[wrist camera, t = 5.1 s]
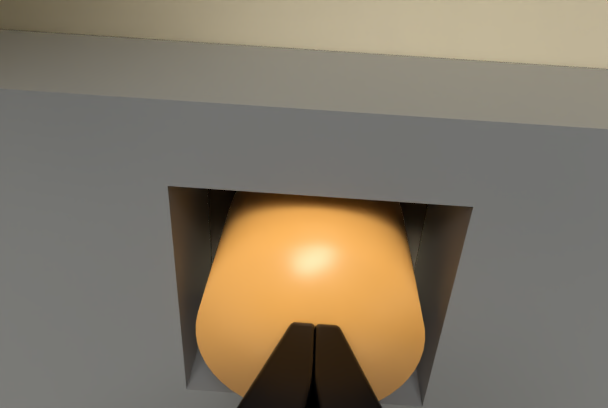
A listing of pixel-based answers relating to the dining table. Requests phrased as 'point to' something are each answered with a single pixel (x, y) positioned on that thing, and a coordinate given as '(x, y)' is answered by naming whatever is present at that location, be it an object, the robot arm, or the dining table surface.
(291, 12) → the dining table surface
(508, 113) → the console
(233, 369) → the orange button
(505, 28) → the dining table surface
